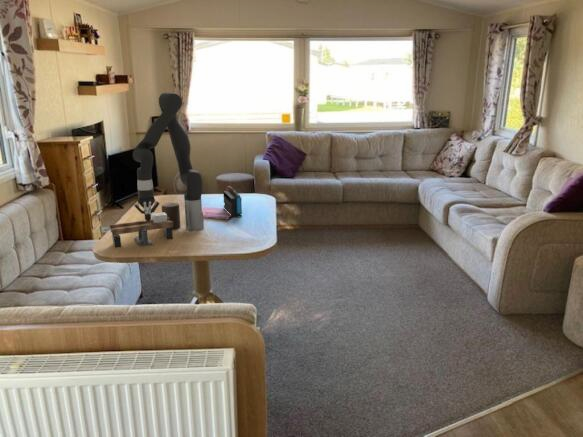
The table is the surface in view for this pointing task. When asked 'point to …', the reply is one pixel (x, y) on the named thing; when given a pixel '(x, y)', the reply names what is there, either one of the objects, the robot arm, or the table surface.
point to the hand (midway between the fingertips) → (148, 220)
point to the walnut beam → (138, 226)
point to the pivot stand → (142, 237)
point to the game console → (232, 202)
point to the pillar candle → (172, 213)
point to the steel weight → (159, 217)
